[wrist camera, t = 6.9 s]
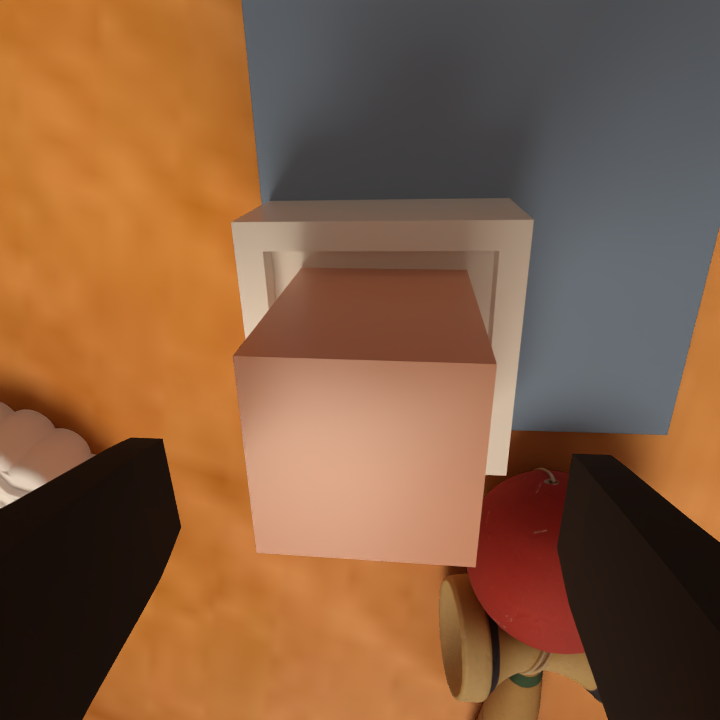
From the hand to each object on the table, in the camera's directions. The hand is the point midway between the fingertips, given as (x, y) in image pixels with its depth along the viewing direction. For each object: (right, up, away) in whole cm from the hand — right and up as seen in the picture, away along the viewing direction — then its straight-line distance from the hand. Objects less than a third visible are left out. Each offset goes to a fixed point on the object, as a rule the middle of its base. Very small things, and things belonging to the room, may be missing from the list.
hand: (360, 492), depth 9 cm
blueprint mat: (+4, +8, +7) cm, 11 cm away
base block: (+1, +4, +9) cm, 10 cm away
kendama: (+7, -9, +15) cm, 19 cm away
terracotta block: (+1, +3, +6) cm, 7 cm away
